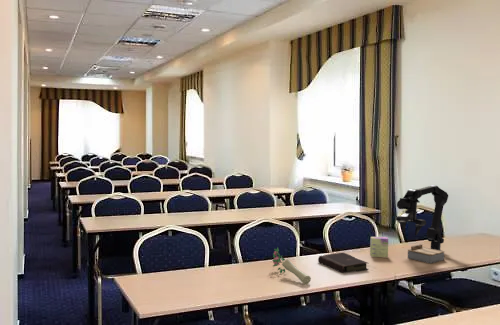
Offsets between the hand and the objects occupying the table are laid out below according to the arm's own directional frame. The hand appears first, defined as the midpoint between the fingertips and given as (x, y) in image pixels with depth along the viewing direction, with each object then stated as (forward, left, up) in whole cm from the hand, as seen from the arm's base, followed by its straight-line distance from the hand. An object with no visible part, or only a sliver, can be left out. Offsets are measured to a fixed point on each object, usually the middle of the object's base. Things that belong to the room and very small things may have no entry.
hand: (409, 234), depth 324 cm
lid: (0, +12, -9) cm, 15 cm away
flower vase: (+92, -10, -14) cm, 94 cm away
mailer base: (0, +12, -14) cm, 18 cm away
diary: (+53, -7, -14) cm, 55 cm away
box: (+17, -10, -14) cm, 24 cm away
